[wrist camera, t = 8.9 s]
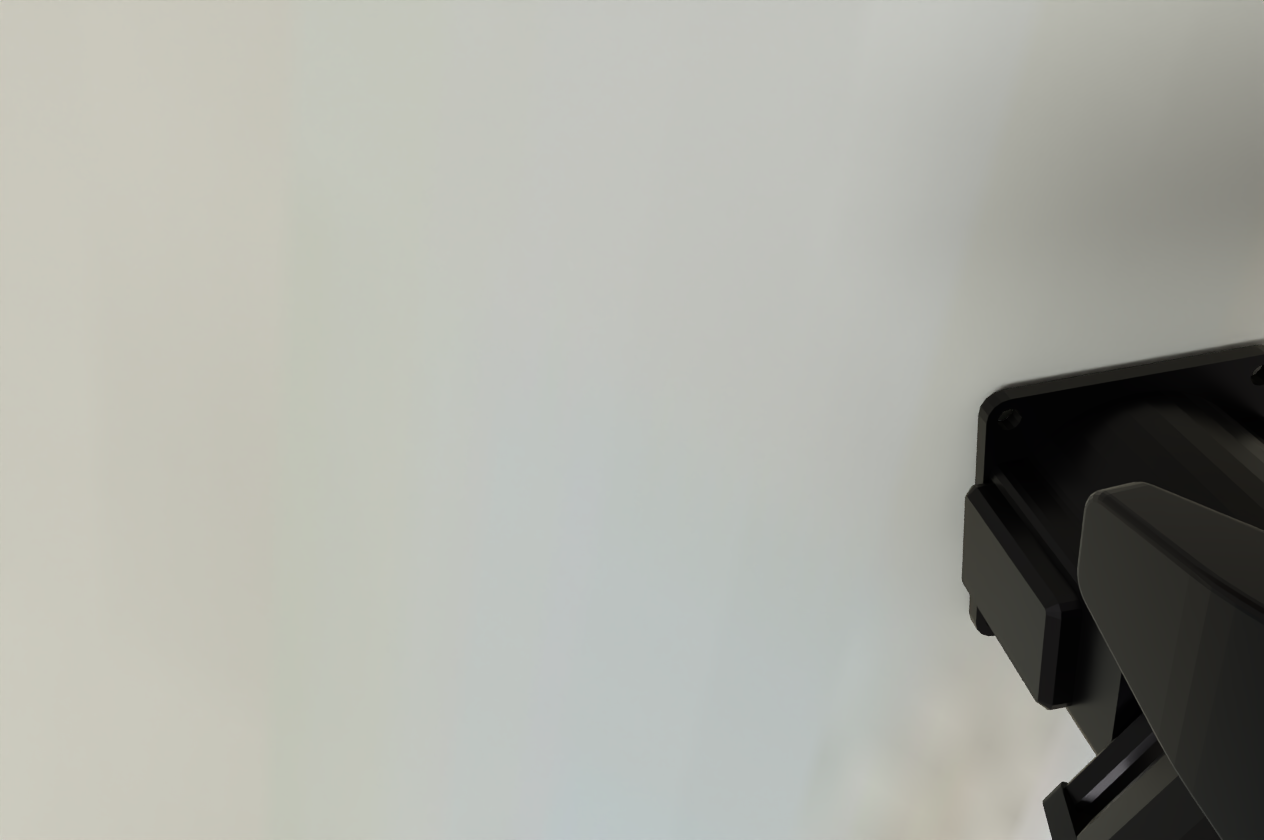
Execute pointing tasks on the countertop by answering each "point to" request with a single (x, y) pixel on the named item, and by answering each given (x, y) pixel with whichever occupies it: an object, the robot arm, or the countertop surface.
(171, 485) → the countertop surface
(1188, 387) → the robot arm
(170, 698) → the countertop surface
